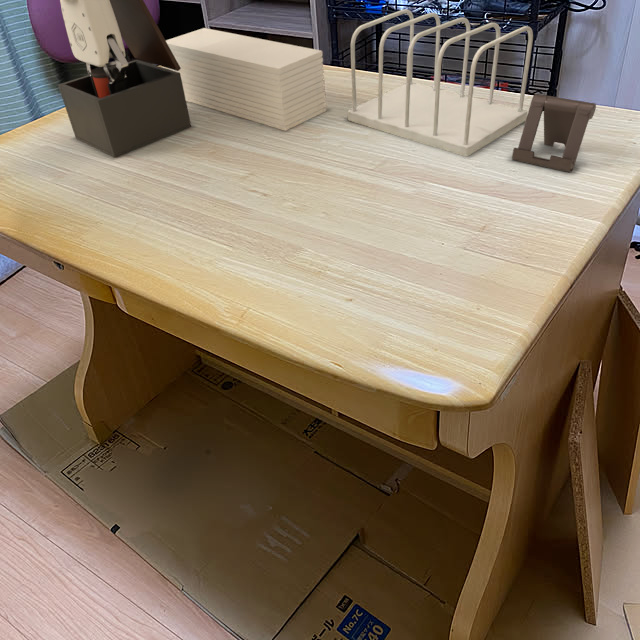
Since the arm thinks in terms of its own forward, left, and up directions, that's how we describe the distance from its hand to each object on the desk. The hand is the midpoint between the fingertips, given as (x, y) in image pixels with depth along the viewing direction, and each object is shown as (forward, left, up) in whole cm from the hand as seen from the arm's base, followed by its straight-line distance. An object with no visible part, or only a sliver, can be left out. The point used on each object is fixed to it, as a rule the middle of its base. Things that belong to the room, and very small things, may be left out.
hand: (114, 100), depth 107 cm
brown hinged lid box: (+2, +1, -7) cm, 7 cm away
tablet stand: (+58, -43, -7) cm, 73 cm away
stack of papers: (+24, +4, -7) cm, 25 cm away
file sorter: (+50, -22, -7) cm, 55 cm away
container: (0, 0, -1) cm, 1 cm away
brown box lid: (+6, +3, +11) cm, 13 cm away
